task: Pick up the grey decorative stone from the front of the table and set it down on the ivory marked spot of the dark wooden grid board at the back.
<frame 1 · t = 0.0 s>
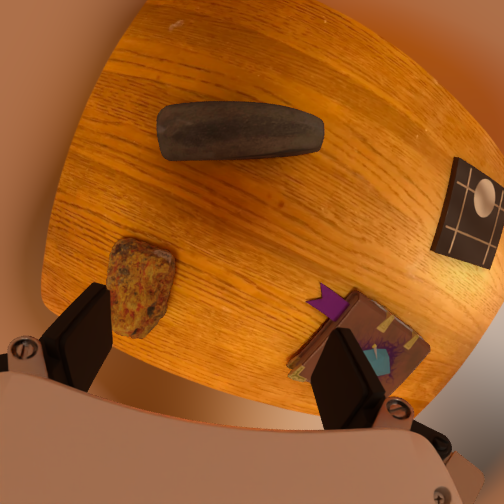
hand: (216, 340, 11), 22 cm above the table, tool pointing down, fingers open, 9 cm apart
board: (474, 217, 32), on the table
rock: (146, 281, 34), on the table
book: (352, 349, 38), on the table
decorative stone: (239, 129, 28), on the table
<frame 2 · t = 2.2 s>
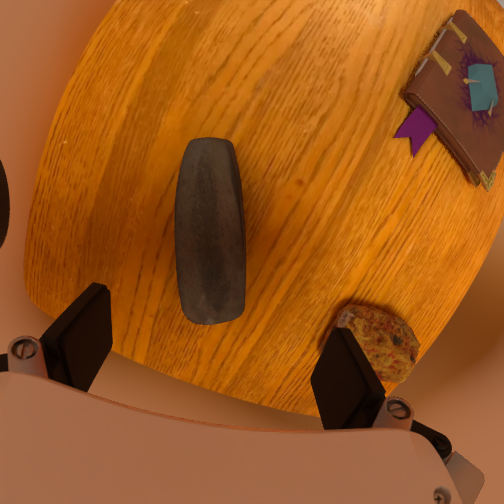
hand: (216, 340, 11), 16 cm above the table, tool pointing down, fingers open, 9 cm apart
rock: (366, 328, 31), on the table
book: (464, 103, 22), on the table
decorative stone: (209, 231, 26), on the table
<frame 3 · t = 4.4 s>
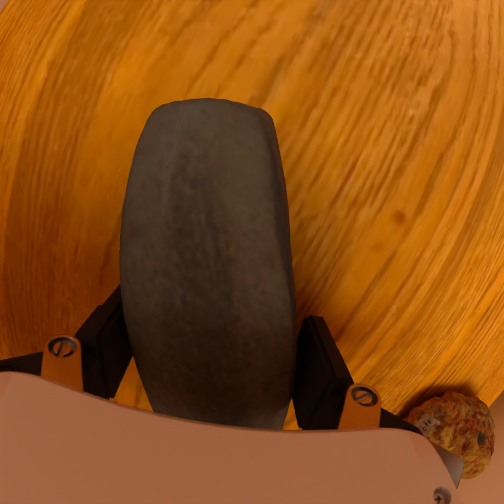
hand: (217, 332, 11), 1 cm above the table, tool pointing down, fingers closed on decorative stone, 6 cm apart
rock: (434, 412, 17), on the table
decorative stone: (210, 315, 12), on the table, touching gripper
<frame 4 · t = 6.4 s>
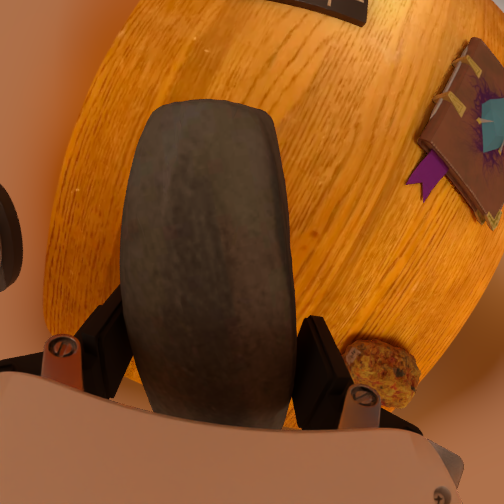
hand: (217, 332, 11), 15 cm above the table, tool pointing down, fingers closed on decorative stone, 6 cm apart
rock: (372, 357, 32), on the table
book: (475, 139, 23), on the table
decorative stone: (210, 316, 12), point 14 cm above the table, touching gripper
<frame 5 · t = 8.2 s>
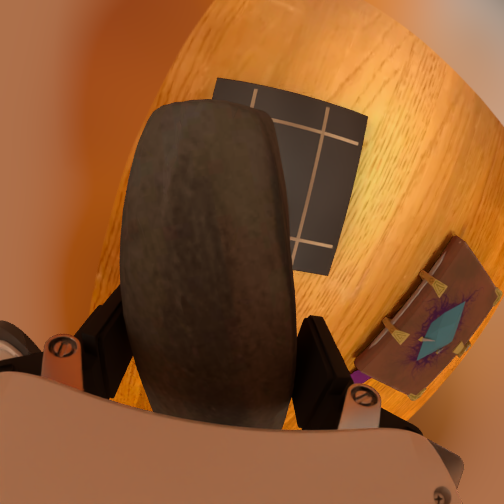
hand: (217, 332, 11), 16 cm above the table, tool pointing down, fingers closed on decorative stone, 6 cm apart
board: (276, 177, 25), on the table
book: (421, 332, 32), on the table
decorative stone: (210, 316, 12), point 15 cm above the table, touching gripper
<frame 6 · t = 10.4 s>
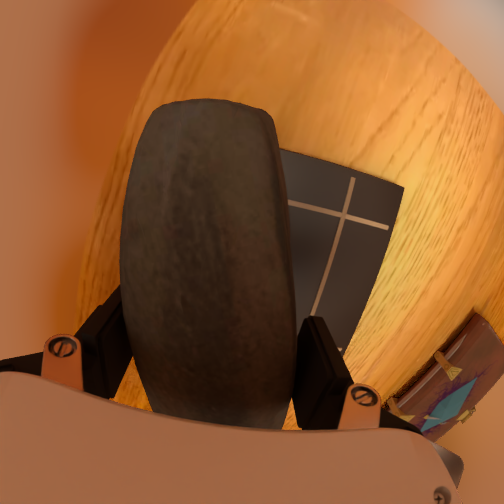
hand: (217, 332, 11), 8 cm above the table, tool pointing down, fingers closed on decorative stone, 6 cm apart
board: (276, 272, 19), on the table
book: (427, 402, 26), on the table
decorative stone: (210, 316, 12), point 7 cm above the table, touching gripper
when the fingers open (2 cm above the table, at t = 12.2 s): decorative stone stays where it is, resting on board.
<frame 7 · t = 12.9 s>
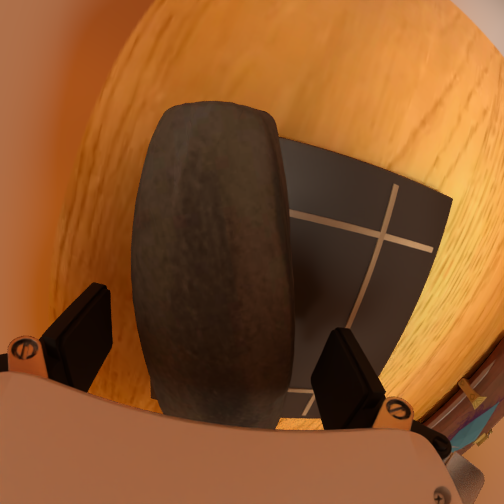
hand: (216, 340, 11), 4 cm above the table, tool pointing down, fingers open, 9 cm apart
board: (290, 306, 14), on the table
book: (444, 426, 22), on the table
decorative stone: (214, 305, 13), point 1 cm above the table, touching board
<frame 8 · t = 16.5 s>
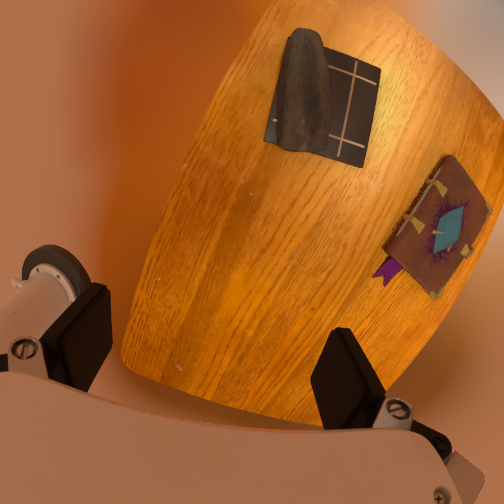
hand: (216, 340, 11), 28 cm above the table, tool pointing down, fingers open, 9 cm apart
board: (325, 100, 33), on the table
book: (433, 236, 40), on the table
decorative stone: (299, 90, 31), point 1 cm above the table, touching board
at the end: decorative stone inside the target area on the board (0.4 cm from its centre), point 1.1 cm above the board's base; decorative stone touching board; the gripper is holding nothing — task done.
